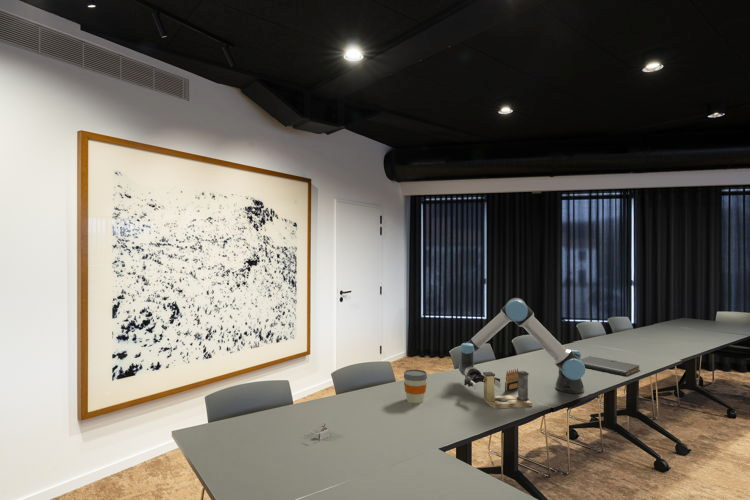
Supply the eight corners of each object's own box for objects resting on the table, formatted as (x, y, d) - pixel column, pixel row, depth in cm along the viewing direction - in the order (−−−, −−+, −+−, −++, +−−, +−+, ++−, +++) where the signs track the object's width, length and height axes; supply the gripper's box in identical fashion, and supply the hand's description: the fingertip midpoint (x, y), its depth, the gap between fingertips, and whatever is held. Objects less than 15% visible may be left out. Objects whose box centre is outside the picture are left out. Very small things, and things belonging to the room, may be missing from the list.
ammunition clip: (507, 392, 239) (507, 371, 239) (504, 391, 241) (504, 370, 241) (519, 389, 245) (519, 368, 245) (517, 388, 247) (517, 367, 247)
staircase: (322, 435, 183) (322, 422, 183) (328, 438, 180) (328, 425, 180) (310, 440, 178) (311, 427, 178) (317, 443, 175) (317, 430, 175)
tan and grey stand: (522, 398, 229) (522, 368, 229) (534, 406, 217) (534, 375, 217) (484, 400, 226) (484, 370, 226) (493, 408, 214) (493, 376, 214)
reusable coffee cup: (426, 405, 218) (426, 376, 218) (402, 403, 221) (402, 375, 221) (427, 397, 230) (427, 369, 231) (405, 395, 233) (405, 368, 233)
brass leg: (491, 398, 223) (491, 371, 223) (494, 401, 218) (495, 374, 218) (483, 398, 222) (483, 372, 222) (486, 401, 217) (486, 374, 217)
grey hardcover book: (639, 364, 286) (625, 371, 271) (639, 370, 286) (625, 377, 271) (590, 355, 312) (574, 361, 297) (590, 361, 312) (574, 366, 297)
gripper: (493, 380, 243) (510, 392, 222) (452, 382, 239) (465, 394, 218) (493, 367, 243) (510, 378, 222) (452, 368, 239) (465, 380, 218)
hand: (488, 386), depth 220 cm, fingers open, 13 cm apart
